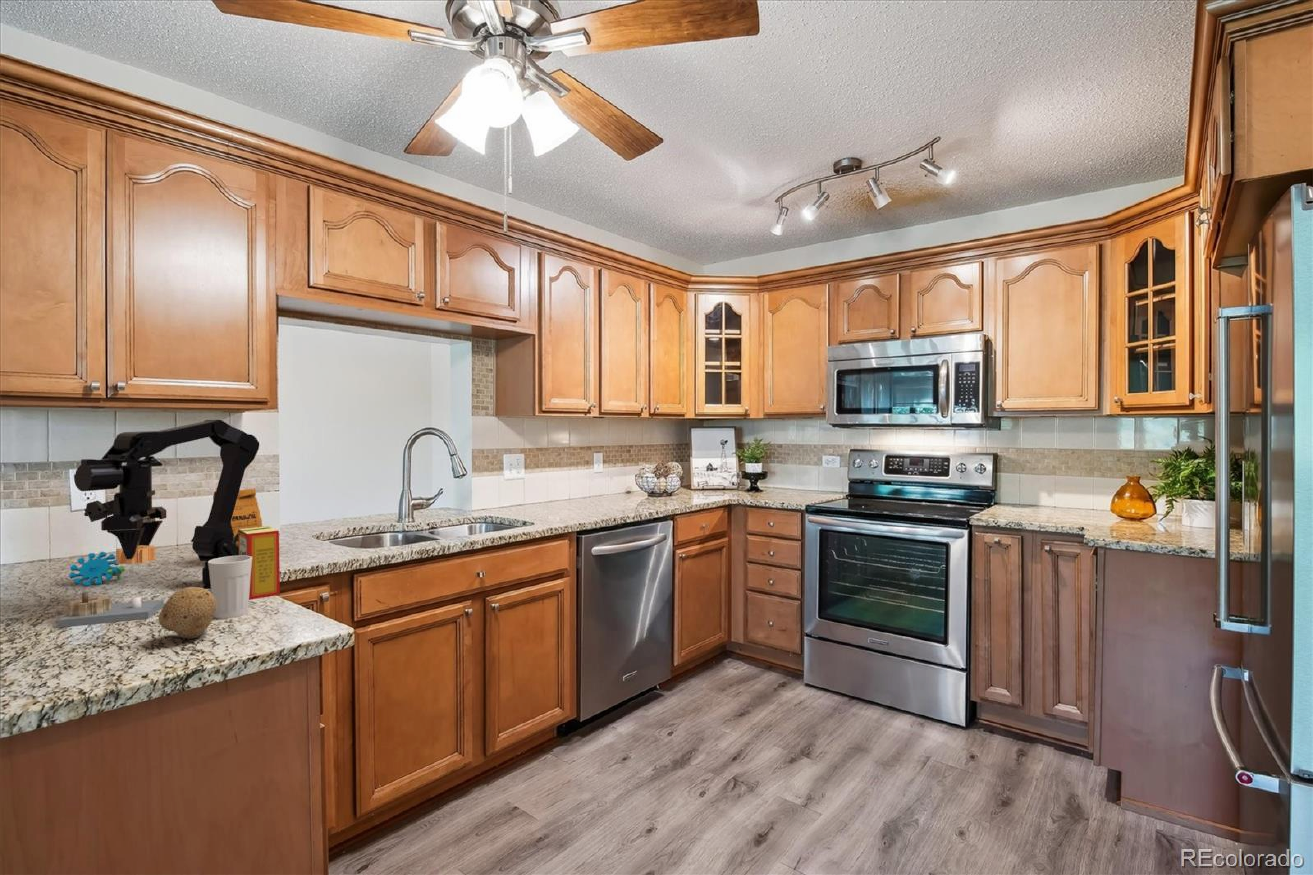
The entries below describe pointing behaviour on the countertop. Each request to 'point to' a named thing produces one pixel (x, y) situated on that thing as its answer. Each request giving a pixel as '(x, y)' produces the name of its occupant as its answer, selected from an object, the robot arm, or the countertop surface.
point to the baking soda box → (261, 559)
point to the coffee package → (245, 512)
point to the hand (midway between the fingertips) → (136, 555)
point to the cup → (230, 585)
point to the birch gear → (89, 605)
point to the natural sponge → (188, 612)
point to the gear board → (116, 613)
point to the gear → (96, 569)
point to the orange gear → (137, 555)
